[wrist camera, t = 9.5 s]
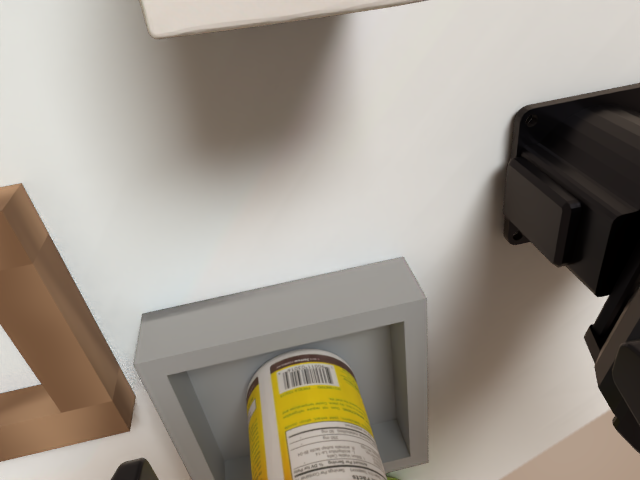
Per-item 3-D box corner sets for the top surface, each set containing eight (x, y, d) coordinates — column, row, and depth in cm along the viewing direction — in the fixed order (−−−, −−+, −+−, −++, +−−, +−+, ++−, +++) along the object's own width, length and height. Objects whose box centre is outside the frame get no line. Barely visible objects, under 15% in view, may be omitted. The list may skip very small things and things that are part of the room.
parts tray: (403, 256, 23) (426, 298, 20) (410, 416, 29) (428, 462, 27) (142, 313, 22) (133, 364, 19) (211, 465, 28) (211, 517, 26)
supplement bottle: (290, 431, 27) (324, 662, 19) (222, 384, 24) (225, 634, 16) (373, 380, 26) (449, 601, 18) (312, 323, 23) (369, 557, 15)
